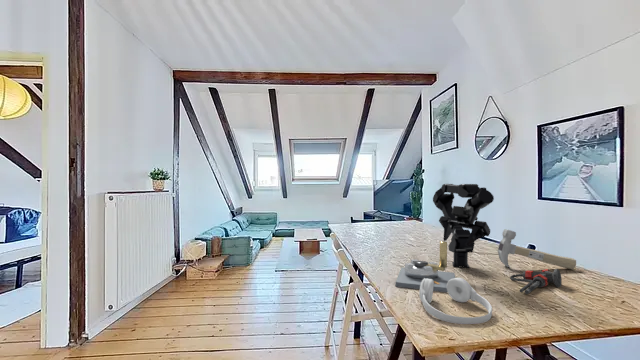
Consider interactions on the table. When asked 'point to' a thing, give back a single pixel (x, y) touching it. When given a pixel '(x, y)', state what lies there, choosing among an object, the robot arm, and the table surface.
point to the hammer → (530, 253)
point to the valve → (538, 279)
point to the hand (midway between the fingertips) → (455, 242)
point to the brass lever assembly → (427, 265)
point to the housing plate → (410, 282)
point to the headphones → (458, 292)
